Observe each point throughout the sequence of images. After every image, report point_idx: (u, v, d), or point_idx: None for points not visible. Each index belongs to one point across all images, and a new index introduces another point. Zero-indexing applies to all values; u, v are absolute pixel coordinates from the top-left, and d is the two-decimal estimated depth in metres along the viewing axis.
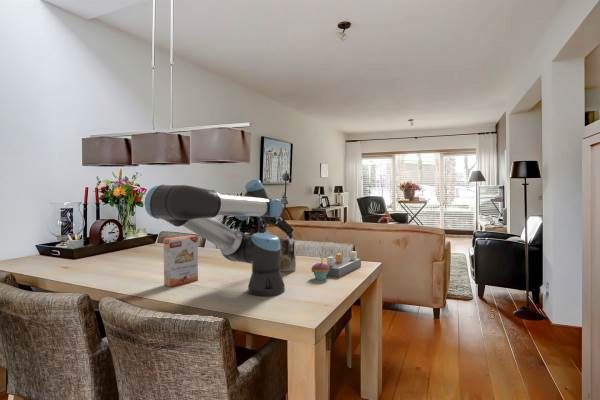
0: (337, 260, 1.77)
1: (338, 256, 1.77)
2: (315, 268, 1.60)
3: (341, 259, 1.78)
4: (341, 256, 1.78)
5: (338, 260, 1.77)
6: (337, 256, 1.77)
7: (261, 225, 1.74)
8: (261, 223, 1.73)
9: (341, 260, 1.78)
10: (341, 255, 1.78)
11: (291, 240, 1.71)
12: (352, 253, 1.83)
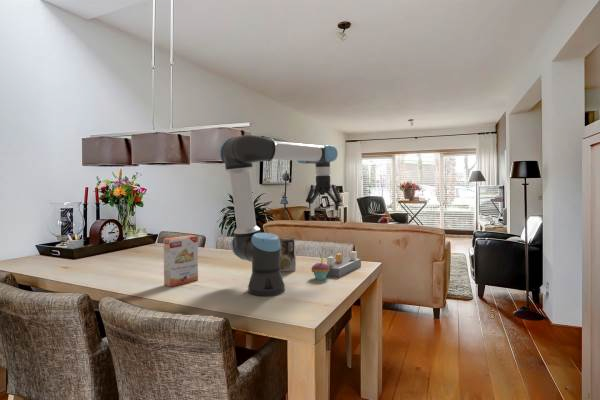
0: (337, 260, 1.77)
1: (338, 256, 1.77)
2: (315, 268, 1.60)
3: (341, 259, 1.78)
4: (341, 256, 1.78)
5: (338, 260, 1.77)
6: (337, 256, 1.77)
7: (310, 196, 1.85)
8: (311, 193, 1.85)
9: (341, 260, 1.78)
10: (341, 255, 1.78)
11: (335, 213, 1.78)
12: (352, 253, 1.83)
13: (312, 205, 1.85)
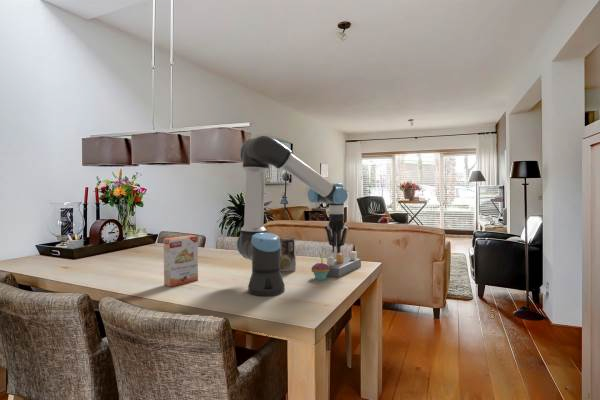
0: (338, 260, 1.77)
1: (339, 256, 1.77)
2: (315, 268, 1.60)
3: (342, 259, 1.78)
4: (342, 256, 1.77)
5: (339, 260, 1.77)
6: (338, 256, 1.77)
7: (330, 237, 1.81)
8: (330, 234, 1.81)
9: (342, 260, 1.78)
10: (342, 255, 1.78)
11: None
12: (352, 253, 1.83)
13: None
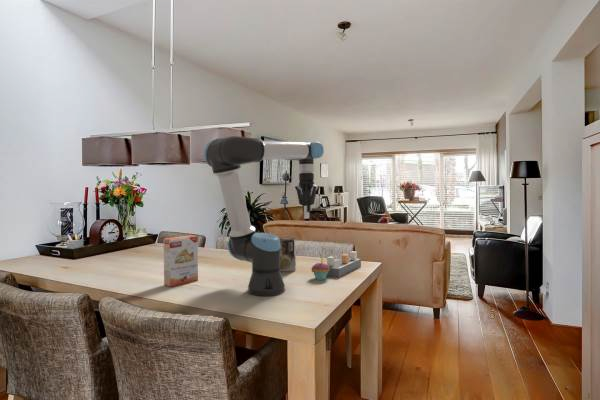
0: (343, 261, 1.75)
1: (344, 257, 1.75)
2: (315, 268, 1.60)
3: (347, 260, 1.76)
4: (347, 257, 1.76)
5: (344, 261, 1.75)
6: (343, 257, 1.75)
7: (301, 197, 1.81)
8: (300, 194, 1.81)
9: (347, 261, 1.76)
10: (347, 256, 1.76)
11: (307, 215, 1.79)
12: (352, 253, 1.83)
13: None
